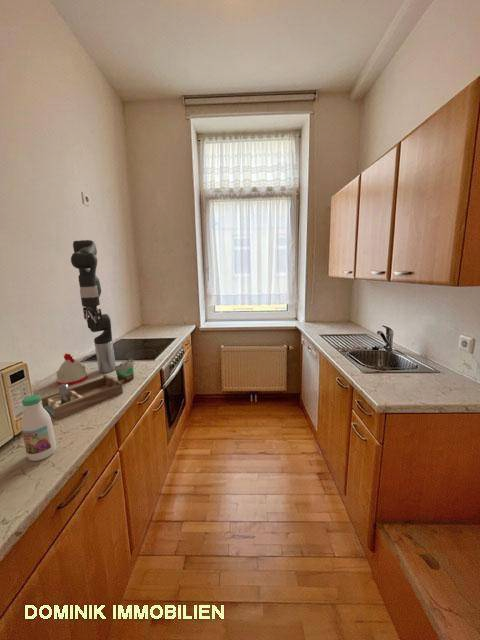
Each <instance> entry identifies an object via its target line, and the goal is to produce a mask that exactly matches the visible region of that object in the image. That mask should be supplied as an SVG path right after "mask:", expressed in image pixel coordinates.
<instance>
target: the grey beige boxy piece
mask: <svg viewBox="0 0 480 640" xmlns="http://www.w3.org/2000/svg"><path fill="white" fill-rule="evenodd" d="M57 387H58V388H57V389H58V393H59V395H57V396H54V397H51V398H48V399H47V401H48V405H49V406H50V407H51V408H52V409H53V410H54V409H55V408H58V407H60V406H63V405H65V404H68V403H71V402H73V401H76V400H79V399H81V398H84V397H82V396H81V395H79V394H78V393H76V392H75V391H73V390H71V391H69V389H70V387H69V385H68V384H67V383H65V384H61V385H57Z"/></svg>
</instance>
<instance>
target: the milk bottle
mask: <svg viewBox="0 0 480 640" xmlns="http://www.w3.org/2000/svg"><path fill="white" fill-rule="evenodd" d="M41 399H42V396H41V395H40V394H33V395H29V396H26V397H24V398H23V399H22V400H21V402H22V406H23V408H24V411H23V416H22V419H21V431H22V432H21V433H22V438H23V442H24V446H25V452H26V455H27V459H28V460H29V461H31V462H38V461H42V460H45V459H47V458H49V457H50V456H52V455H54V453H55V452H56V451H57V442H56V436H55V431H54V426H53V422H52V418H51V415H50V414H49V413H48V412H47V411H46V410H45V409H44V408H43V405H42V400H41Z"/></svg>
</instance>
